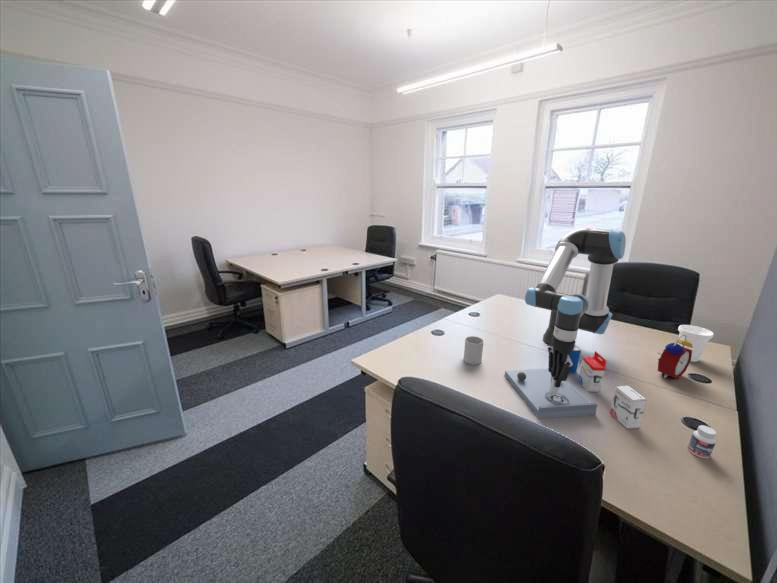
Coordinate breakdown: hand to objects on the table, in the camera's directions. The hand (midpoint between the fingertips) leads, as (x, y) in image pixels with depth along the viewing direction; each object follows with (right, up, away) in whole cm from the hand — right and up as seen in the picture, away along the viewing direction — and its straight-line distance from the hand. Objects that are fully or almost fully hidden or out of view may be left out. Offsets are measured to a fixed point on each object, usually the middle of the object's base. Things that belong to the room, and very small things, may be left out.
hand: (553, 392), depth 126 cm
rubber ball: (-9, +4, +9) cm, 13 cm away
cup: (+83, +6, +33) cm, 90 cm away
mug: (-23, +6, +32) cm, 40 cm away
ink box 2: (+20, -1, +10) cm, 23 cm away
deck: (0, -2, +5) cm, 6 cm away
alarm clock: (+61, +2, +19) cm, 64 cm away
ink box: (+20, -7, -10) cm, 24 cm away
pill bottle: (+34, -12, -24) cm, 43 cm away
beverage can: (+18, +3, +22) cm, 28 cm away
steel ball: (0, -3, -2) cm, 3 cm away
